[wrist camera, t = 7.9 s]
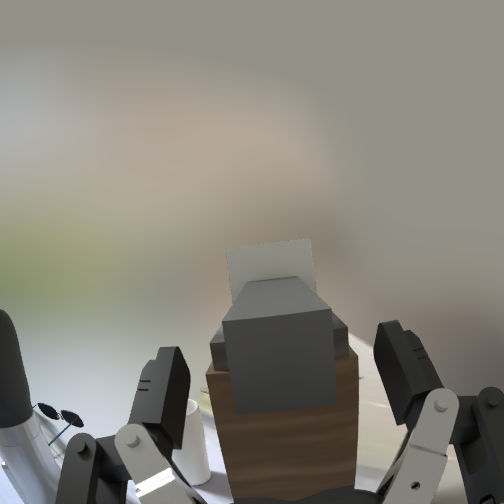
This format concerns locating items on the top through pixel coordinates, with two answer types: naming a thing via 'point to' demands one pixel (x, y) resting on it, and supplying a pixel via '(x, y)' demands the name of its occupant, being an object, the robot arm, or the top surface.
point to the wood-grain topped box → (288, 433)
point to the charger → (278, 330)
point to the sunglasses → (68, 416)
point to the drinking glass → (193, 448)
